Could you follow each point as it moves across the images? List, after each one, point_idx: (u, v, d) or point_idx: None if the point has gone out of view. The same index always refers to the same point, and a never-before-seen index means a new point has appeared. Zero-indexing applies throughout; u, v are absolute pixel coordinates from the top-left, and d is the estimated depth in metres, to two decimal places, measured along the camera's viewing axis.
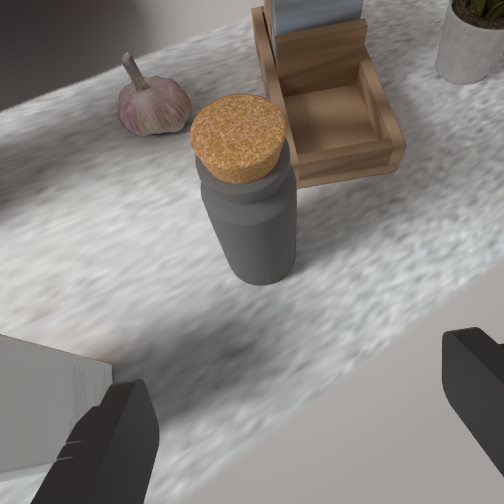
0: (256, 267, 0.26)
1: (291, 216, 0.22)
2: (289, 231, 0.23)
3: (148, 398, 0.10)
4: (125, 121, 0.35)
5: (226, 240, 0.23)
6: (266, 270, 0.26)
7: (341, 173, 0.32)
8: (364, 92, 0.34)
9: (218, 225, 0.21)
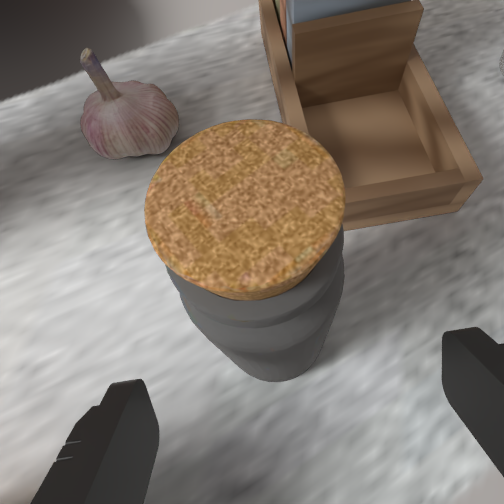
0: (270, 375, 0.17)
1: (332, 319, 0.13)
2: (325, 334, 0.14)
3: (148, 398, 0.10)
4: (89, 141, 0.26)
5: (222, 351, 0.14)
6: (284, 375, 0.17)
7: (385, 215, 0.23)
8: (412, 102, 0.25)
9: None
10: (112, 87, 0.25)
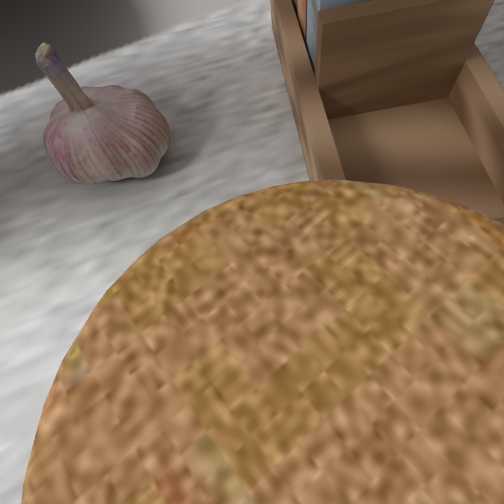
0: None
1: None
2: None
3: None
4: (54, 163, 0.20)
5: None
6: None
7: None
8: (471, 114, 0.19)
9: None
10: (81, 94, 0.19)
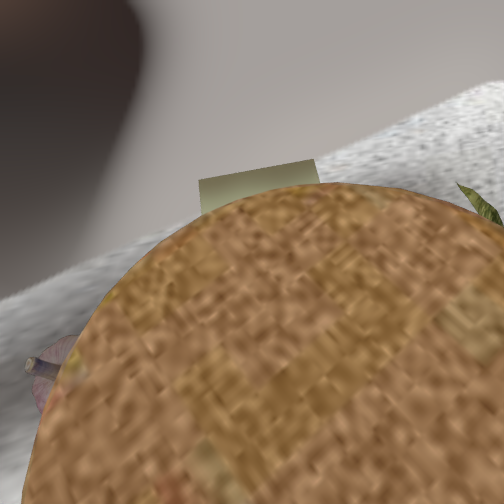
0: None
1: None
2: None
3: None
4: None
5: None
6: None
7: None
8: None
9: None
10: None
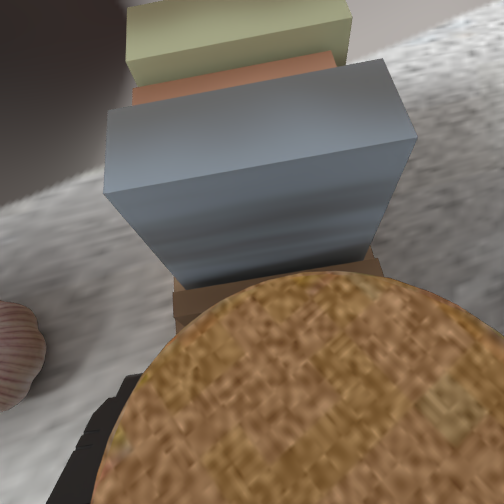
0: None
1: None
2: None
3: None
4: None
5: None
6: None
7: None
8: None
9: None
10: None
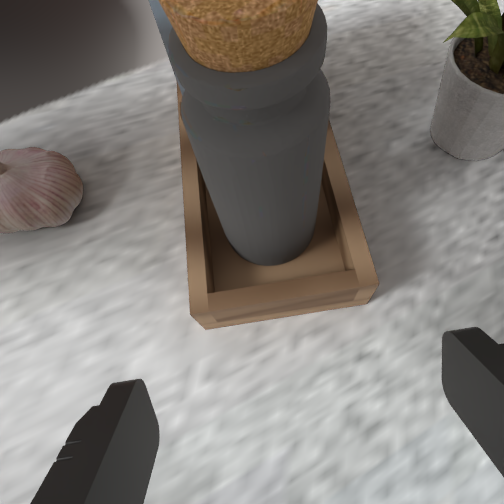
0: (264, 237, 0.18)
1: (319, 153, 0.14)
2: (314, 180, 0.16)
3: (148, 398, 0.10)
4: None
5: (220, 192, 0.15)
6: (277, 242, 0.19)
7: (282, 311, 0.21)
8: (324, 179, 0.23)
9: (207, 163, 0.14)
10: None
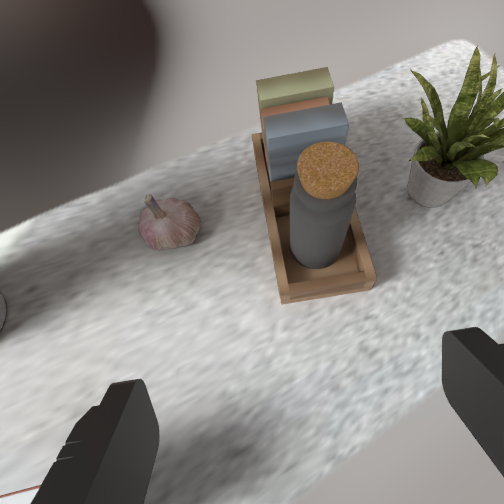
0: (318, 254, 0.36)
1: (350, 219, 0.32)
2: (346, 229, 0.34)
3: (148, 398, 0.10)
4: (145, 241, 0.42)
5: (303, 235, 0.33)
6: (324, 257, 0.37)
7: (325, 293, 0.39)
8: None
9: (301, 224, 0.32)
10: (161, 212, 0.40)
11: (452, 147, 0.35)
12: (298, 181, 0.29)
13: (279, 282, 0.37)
